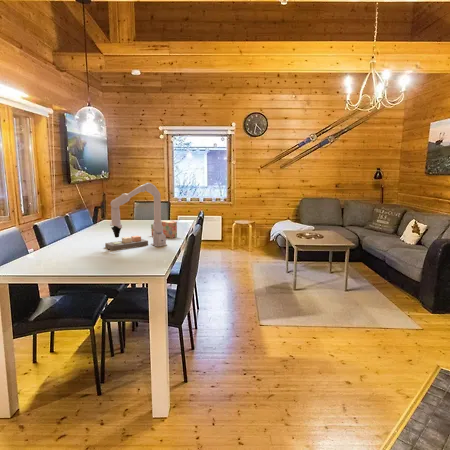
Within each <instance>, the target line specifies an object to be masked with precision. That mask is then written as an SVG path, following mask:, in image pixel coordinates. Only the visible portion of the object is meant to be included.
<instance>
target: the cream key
mask: <svg viewBox="0 0 450 450" xmlns="http://www.w3.org/2000/svg"><path fill="white" fill-rule="evenodd" d="M121 241H122V242H123V243H130V242H132V238H131V236H125V237H124V236H123V237H121Z"/></svg>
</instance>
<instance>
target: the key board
mask: <svg viewBox="0 0 450 450" xmlns="http://www.w3.org/2000/svg"><path fill="white" fill-rule="evenodd" d="M114 242H115V241H111V242H105V245H104V246H105V248H106V249H109V250H110V251H119V250H124V249H131V248H137V247H138V248H139V247H143V246H144V247H146V246H148V245H149V241H148V240H146V239H143V238H141V241H137V242H133V241H132V242H130V243H123V242H122V240H118V241H117V240H116V242H121V243H122V244H116V245H115V244H112V243H114Z"/></svg>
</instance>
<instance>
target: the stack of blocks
mask: <svg viewBox="0 0 450 450" xmlns="http://www.w3.org/2000/svg"><path fill="white" fill-rule="evenodd" d="M161 221H162V226H163V234H164V235H165V236H166V238H167V237H170V238H169V239H174V238H173V237H175V238H176V237H178V225H177V224H178V223H177V221H174V220H173V221H172V220H161ZM153 224H154V223H152V224H150V228H151V230H150V231H151V236H152V237H153V231H154V229H153Z"/></svg>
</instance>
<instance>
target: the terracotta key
mask: <svg viewBox="0 0 450 450" xmlns="http://www.w3.org/2000/svg"><path fill="white" fill-rule="evenodd" d="M130 237H131V238H132V241H133V242H137V241H141V239H142V236H140V235H133V236H130Z"/></svg>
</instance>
